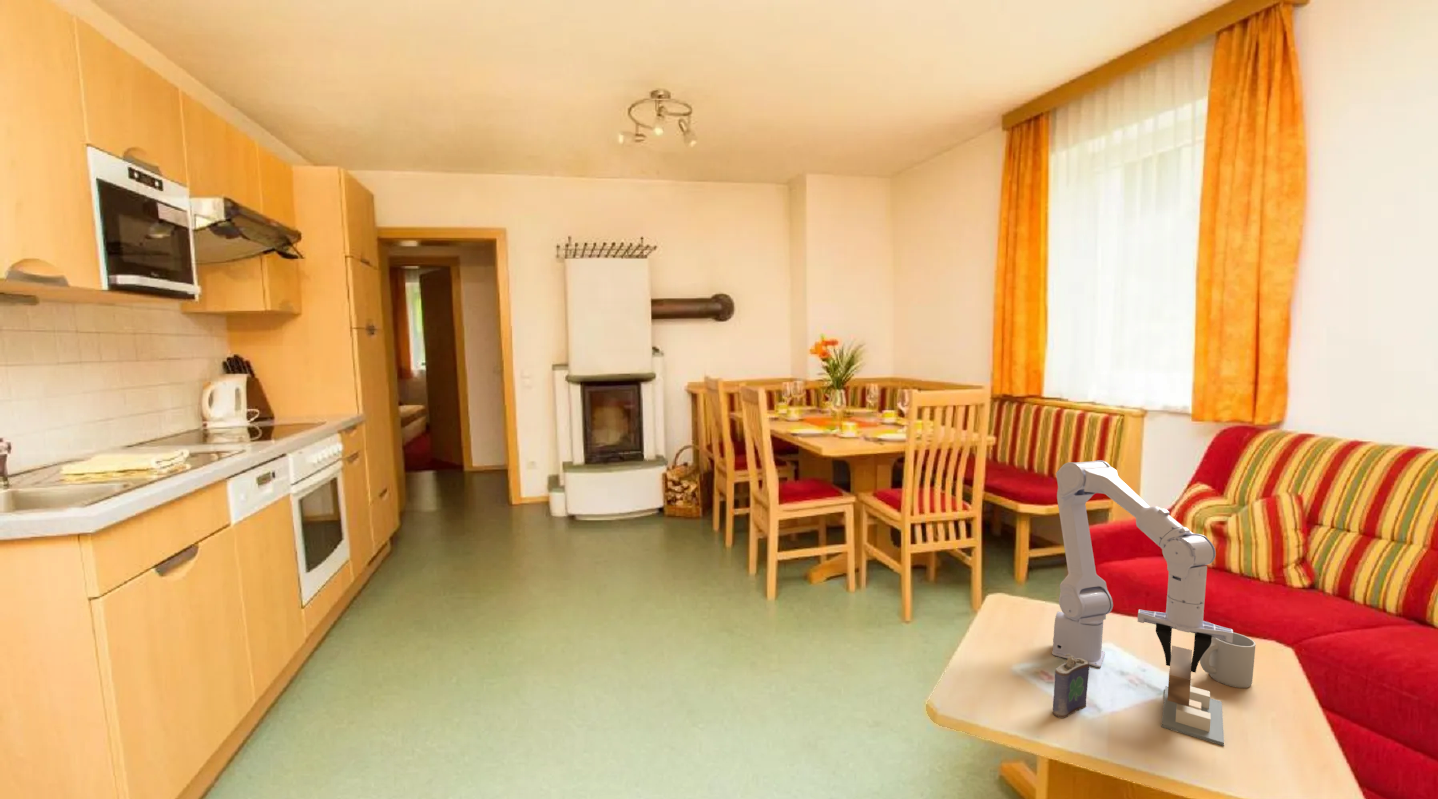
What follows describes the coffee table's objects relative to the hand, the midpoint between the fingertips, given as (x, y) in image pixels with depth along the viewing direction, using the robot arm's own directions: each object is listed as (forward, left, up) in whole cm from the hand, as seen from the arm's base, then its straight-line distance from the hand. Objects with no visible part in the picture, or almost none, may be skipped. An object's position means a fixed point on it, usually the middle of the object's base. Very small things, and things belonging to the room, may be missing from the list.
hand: (1180, 666), depth 121 cm
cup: (+7, +19, -9) cm, 22 cm away
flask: (-17, -13, -9) cm, 23 cm away
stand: (+2, -1, -9) cm, 9 cm away
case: (0, 0, -4) cm, 4 cm away
